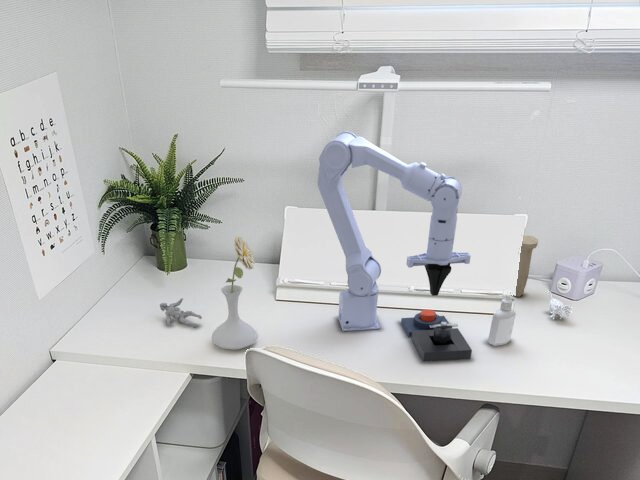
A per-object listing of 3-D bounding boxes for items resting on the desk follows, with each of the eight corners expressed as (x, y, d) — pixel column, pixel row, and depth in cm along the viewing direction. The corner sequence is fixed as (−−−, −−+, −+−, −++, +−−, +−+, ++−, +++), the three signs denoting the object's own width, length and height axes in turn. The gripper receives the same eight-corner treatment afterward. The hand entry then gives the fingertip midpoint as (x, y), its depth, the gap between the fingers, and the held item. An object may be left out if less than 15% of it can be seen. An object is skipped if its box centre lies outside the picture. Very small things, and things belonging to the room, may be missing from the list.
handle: (525, 290, 187) (537, 236, 177) (526, 300, 182) (538, 244, 172) (506, 289, 187) (517, 235, 178) (507, 299, 183) (518, 243, 173)
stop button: (422, 322, 166) (422, 316, 165) (418, 316, 169) (419, 309, 168) (436, 321, 167) (437, 315, 166) (432, 315, 169) (433, 309, 168)
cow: (571, 324, 170) (576, 307, 167) (549, 325, 170) (554, 307, 167) (556, 304, 179) (561, 287, 176) (536, 304, 180) (540, 287, 177)
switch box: (408, 337, 166) (409, 326, 164) (400, 323, 172) (402, 312, 171) (452, 335, 167) (454, 323, 165) (443, 320, 173) (444, 309, 171)
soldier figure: (188, 336, 171) (149, 314, 173) (193, 340, 176) (155, 319, 178) (203, 309, 171) (164, 287, 173) (208, 314, 176) (169, 293, 177)
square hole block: (422, 362, 156) (424, 352, 155) (411, 340, 165) (412, 330, 164) (470, 359, 157) (472, 349, 156) (456, 337, 166) (457, 328, 164)
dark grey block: (429, 354, 159) (432, 327, 155) (424, 346, 162) (428, 319, 158) (455, 352, 160) (460, 325, 155) (450, 344, 163) (455, 318, 159)
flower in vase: (240, 358, 159) (234, 253, 144) (202, 346, 164) (192, 244, 149) (271, 336, 168) (268, 235, 152) (233, 326, 173) (227, 226, 157)
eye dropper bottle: (512, 346, 162) (523, 298, 154) (489, 346, 162) (498, 299, 154) (508, 337, 165) (518, 290, 158) (485, 338, 165) (493, 291, 158)
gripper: (415, 244, 149) (408, 302, 158) (478, 240, 151) (469, 298, 159) (406, 234, 155) (401, 290, 163) (467, 230, 156) (459, 286, 165)
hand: (434, 293), depth 162 cm, fingers closed
